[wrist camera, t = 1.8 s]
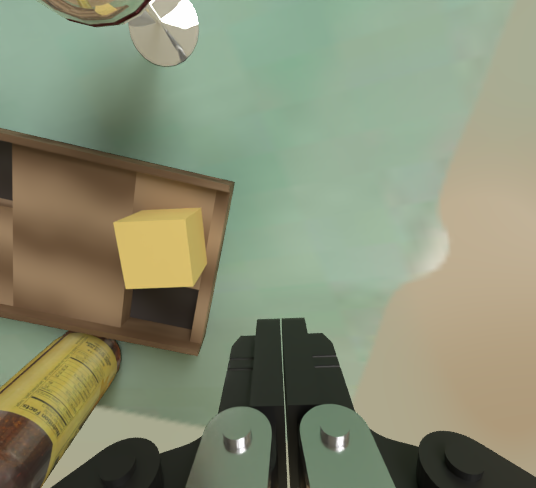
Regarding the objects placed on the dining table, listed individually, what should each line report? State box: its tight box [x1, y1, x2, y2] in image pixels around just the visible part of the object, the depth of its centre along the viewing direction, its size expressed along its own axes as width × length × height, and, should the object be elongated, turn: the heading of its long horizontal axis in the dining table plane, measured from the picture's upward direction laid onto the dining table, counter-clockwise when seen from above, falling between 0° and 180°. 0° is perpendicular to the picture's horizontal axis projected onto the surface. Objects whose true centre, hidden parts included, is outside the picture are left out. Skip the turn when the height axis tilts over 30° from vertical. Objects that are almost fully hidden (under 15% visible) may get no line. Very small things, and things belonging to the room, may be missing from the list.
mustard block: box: [113, 208, 207, 289], centre depth 22 cm, size 4×4×4 cm
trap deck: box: [0, 128, 235, 356], centre depth 24 cm, size 14×28×4 cm, turn 77°
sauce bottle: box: [0, 331, 121, 488], centre depth 19 cm, size 7×6×20 cm
